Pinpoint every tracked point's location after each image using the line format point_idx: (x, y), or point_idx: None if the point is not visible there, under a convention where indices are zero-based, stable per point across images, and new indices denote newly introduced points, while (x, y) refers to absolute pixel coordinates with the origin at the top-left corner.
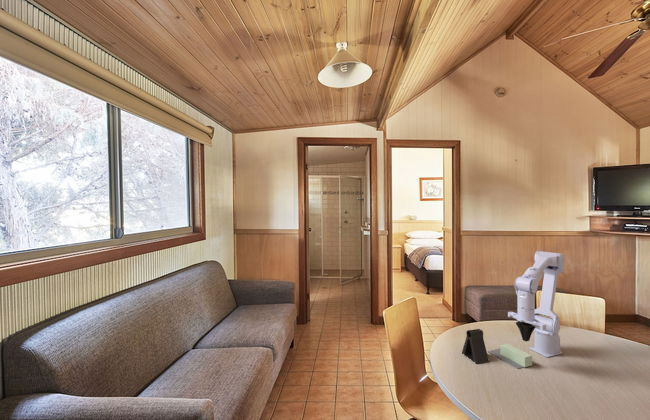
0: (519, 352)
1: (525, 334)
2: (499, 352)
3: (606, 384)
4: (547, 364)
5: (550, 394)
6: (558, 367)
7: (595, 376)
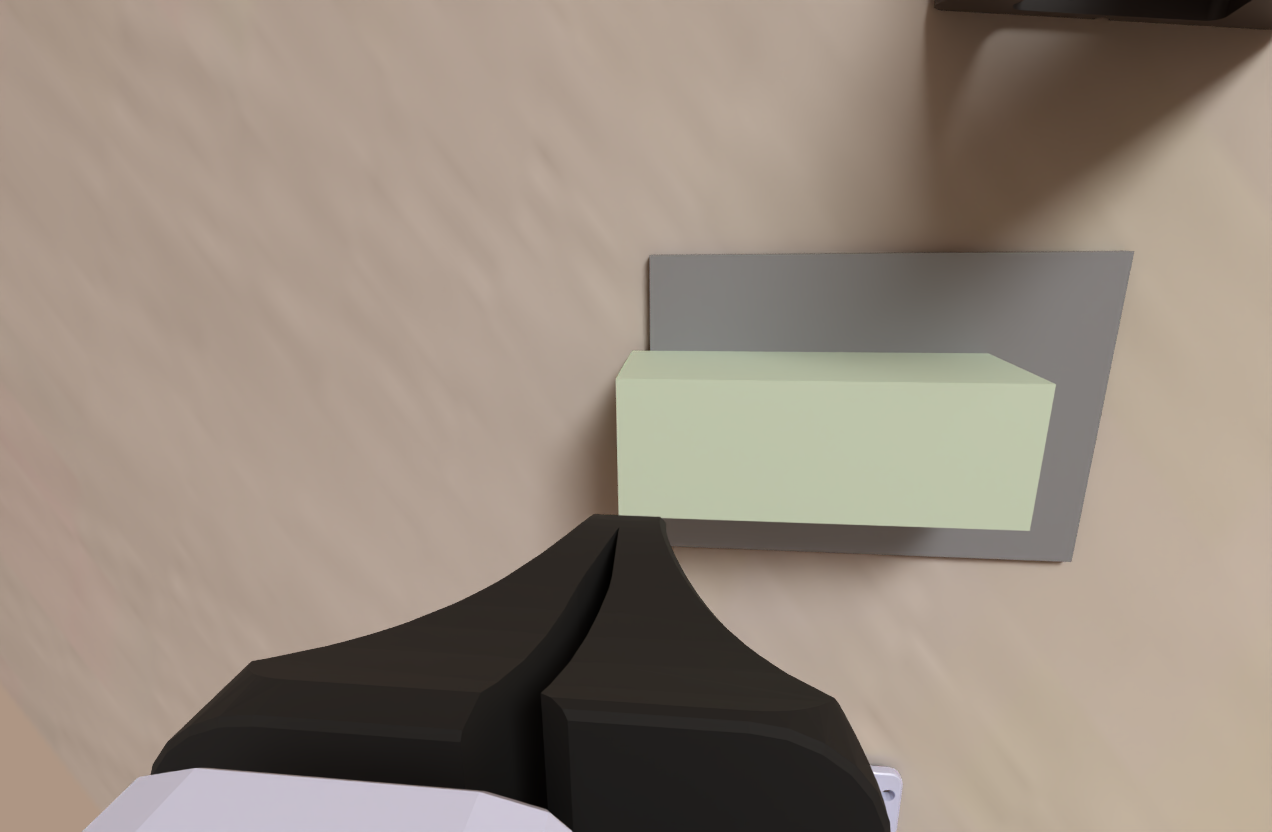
0: (747, 440)
1: (524, 576)
2: None
3: None
4: None
5: (187, 131)
6: None
7: None
